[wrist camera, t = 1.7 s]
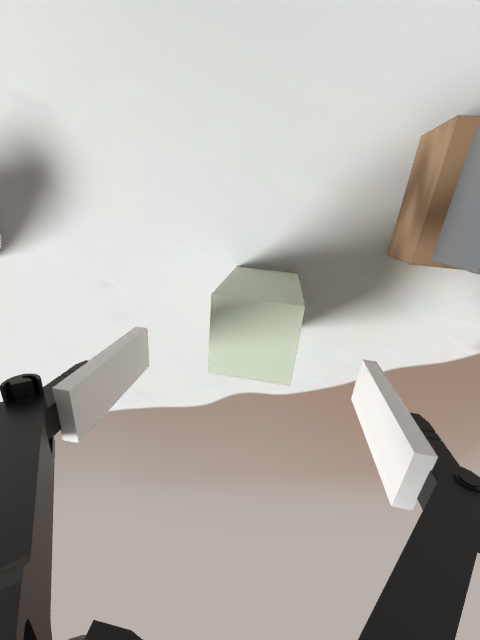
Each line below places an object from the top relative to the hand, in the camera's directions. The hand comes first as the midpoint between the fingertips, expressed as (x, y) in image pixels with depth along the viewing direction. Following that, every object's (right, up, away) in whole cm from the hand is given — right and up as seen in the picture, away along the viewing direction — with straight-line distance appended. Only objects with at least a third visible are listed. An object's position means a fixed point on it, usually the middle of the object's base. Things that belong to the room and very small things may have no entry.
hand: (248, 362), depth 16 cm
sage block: (+2, +5, +11) cm, 12 cm away
